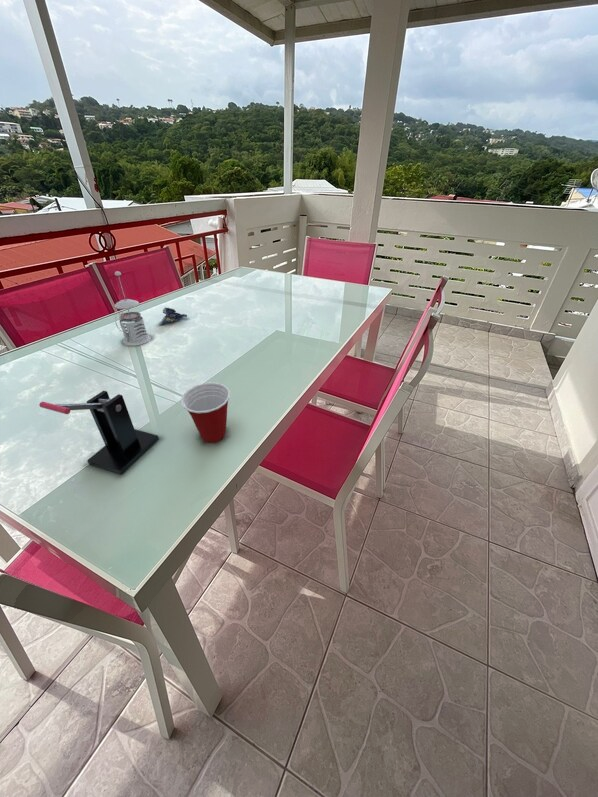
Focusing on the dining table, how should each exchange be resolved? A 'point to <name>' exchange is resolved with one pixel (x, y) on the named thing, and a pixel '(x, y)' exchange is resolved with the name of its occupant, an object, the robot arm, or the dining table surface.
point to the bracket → (118, 436)
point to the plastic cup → (208, 409)
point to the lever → (74, 406)
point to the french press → (131, 336)
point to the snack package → (171, 315)
